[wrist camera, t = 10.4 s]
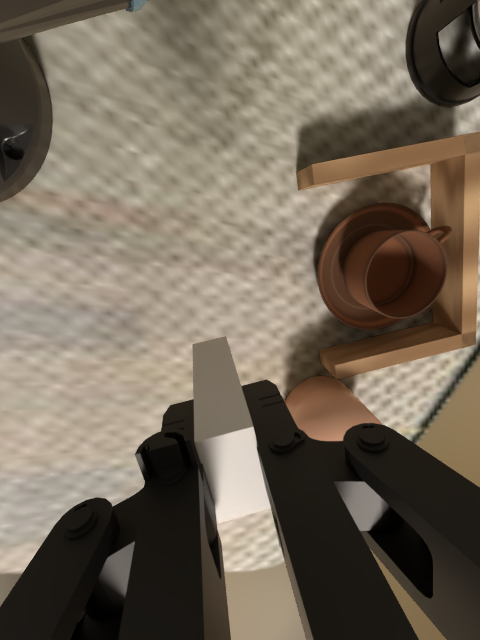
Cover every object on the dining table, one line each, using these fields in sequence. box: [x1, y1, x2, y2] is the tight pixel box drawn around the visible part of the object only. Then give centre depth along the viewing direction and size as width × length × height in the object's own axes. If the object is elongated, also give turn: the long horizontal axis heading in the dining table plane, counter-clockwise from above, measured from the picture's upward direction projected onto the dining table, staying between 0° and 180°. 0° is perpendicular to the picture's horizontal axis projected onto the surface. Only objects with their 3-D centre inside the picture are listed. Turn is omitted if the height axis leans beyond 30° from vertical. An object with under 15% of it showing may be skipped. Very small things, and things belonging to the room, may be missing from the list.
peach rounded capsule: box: [285, 376, 382, 441], centre depth 33 cm, size 8×8×7 cm
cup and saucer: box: [318, 203, 452, 330], centre depth 29 cm, size 12×12×6 cm
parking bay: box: [296, 132, 480, 379], centre depth 30 cm, size 19×14×4 cm
